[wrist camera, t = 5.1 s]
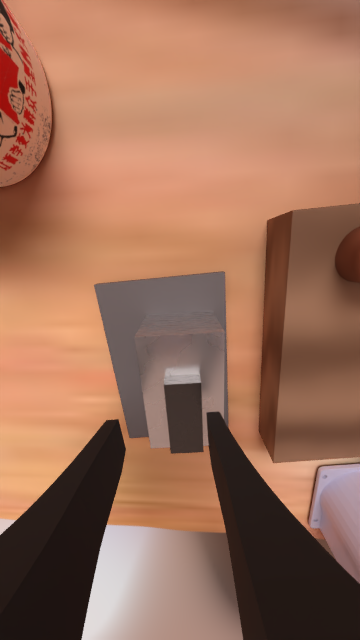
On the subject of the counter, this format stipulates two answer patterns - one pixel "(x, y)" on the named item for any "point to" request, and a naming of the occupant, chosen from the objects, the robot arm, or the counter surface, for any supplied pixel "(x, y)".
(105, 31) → the counter surface
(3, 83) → the teacup with lid
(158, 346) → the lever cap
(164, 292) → the rubber mat
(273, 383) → the body
